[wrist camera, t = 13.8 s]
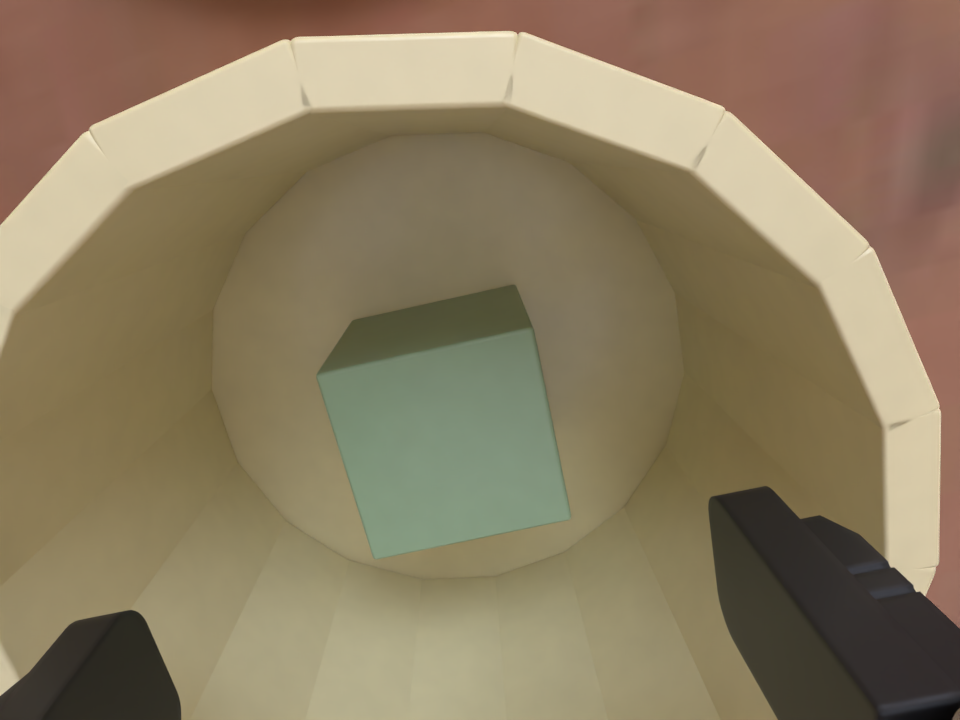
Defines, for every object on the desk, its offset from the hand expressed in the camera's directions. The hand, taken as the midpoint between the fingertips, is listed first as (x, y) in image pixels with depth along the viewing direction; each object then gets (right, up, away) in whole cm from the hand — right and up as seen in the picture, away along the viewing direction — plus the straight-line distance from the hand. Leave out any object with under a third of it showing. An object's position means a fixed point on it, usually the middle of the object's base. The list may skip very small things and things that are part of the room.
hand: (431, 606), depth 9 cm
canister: (0, +3, +9) cm, 10 cm away
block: (0, +3, +9) cm, 9 cm away
